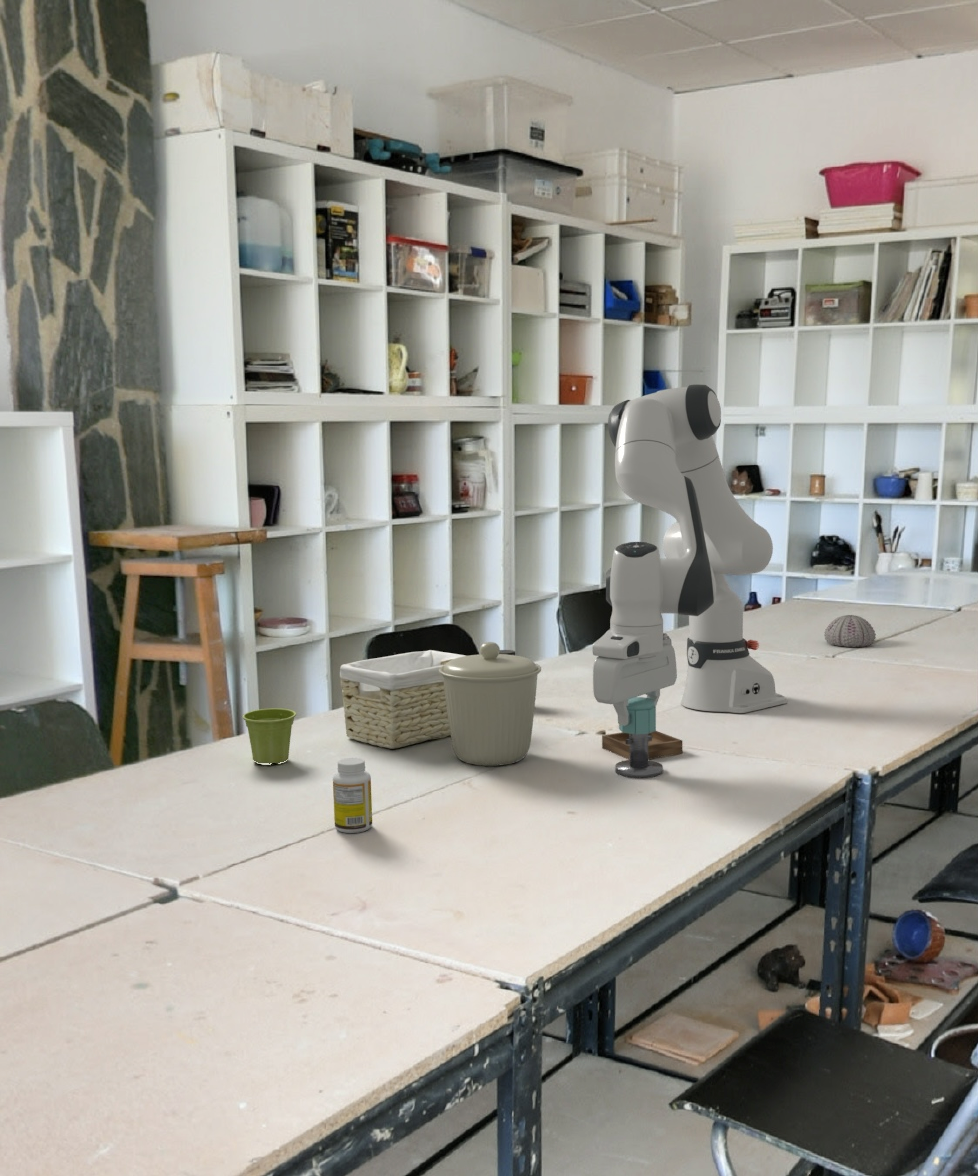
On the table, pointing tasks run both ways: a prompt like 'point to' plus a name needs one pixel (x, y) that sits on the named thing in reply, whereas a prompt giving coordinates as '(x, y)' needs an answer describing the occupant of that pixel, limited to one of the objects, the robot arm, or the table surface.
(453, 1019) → the table surface
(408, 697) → the storage basket
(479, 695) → the canister
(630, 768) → the post
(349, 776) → the supplement bottle
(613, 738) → the walnut tray
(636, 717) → the cap
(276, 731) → the plant pot
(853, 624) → the sea urchin shell
